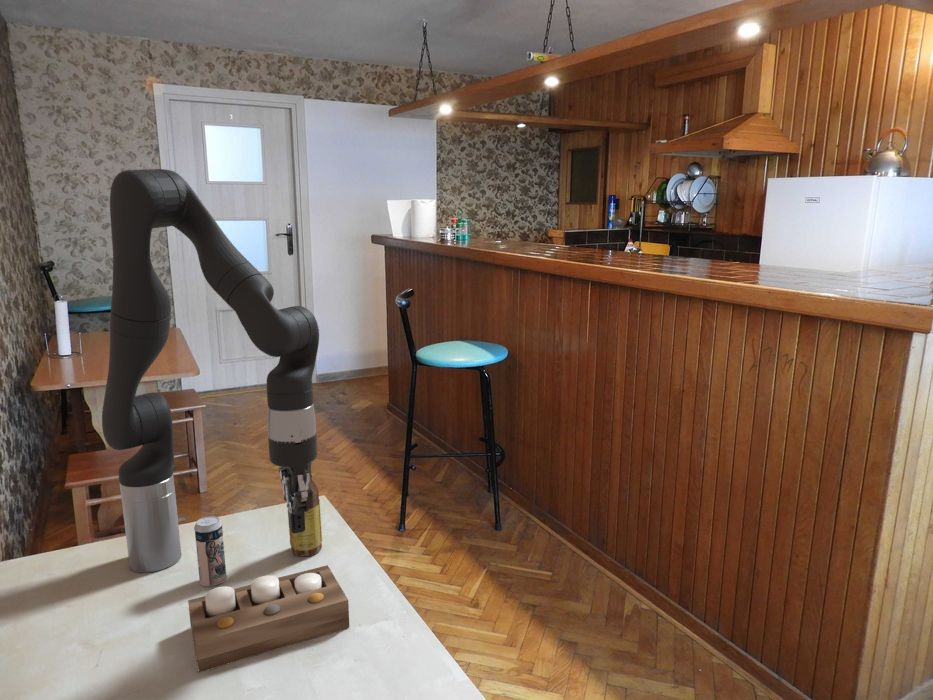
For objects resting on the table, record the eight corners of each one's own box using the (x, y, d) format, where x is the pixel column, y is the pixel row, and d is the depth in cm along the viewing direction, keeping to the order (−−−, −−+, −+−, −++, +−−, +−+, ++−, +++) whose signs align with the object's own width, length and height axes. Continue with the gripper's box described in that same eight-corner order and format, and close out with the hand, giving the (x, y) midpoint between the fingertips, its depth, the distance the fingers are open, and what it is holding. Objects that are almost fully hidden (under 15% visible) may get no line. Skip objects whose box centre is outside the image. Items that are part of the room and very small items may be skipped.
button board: (190, 627, 107) (188, 598, 106) (328, 590, 117) (327, 563, 116) (198, 672, 97) (195, 640, 95) (349, 627, 107) (348, 598, 106)
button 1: (205, 607, 106) (203, 590, 105) (233, 600, 108) (232, 583, 107) (208, 622, 102) (206, 605, 101) (237, 614, 104) (236, 597, 103)
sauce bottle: (298, 541, 135) (292, 450, 131) (327, 543, 134) (322, 451, 130) (285, 558, 129) (278, 462, 124) (315, 560, 128) (310, 464, 124)
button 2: (250, 596, 109) (248, 579, 108) (276, 589, 111) (275, 573, 110) (254, 609, 105) (253, 593, 104) (282, 602, 107) (281, 585, 106)
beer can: (217, 589, 118) (212, 528, 115) (193, 586, 119) (187, 525, 116) (232, 575, 122) (227, 516, 120) (209, 572, 123) (203, 513, 121)
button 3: (292, 592, 112) (291, 576, 112) (318, 586, 114) (317, 570, 114) (299, 606, 108) (298, 589, 108) (325, 598, 110) (324, 582, 110)
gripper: (259, 423, 109) (266, 519, 113) (277, 448, 98) (284, 554, 101) (304, 417, 112) (309, 510, 116) (327, 440, 101) (331, 543, 105)
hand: (297, 530), depth 109 cm, fingers closed
